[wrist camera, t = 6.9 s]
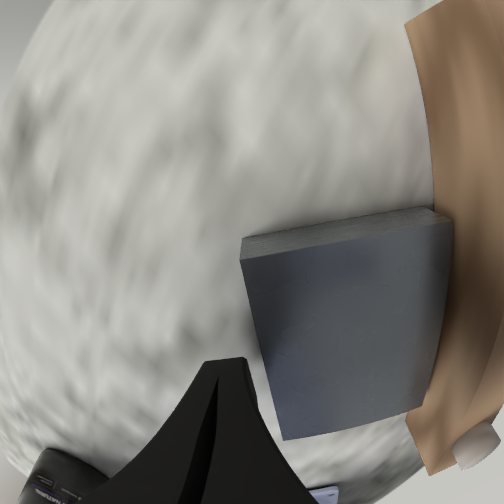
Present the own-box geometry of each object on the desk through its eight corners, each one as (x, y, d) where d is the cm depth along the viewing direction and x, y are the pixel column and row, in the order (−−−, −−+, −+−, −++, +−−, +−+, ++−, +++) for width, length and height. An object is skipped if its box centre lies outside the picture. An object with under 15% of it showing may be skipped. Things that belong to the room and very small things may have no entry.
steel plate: (402, 369, 12) (421, 406, 10) (279, 397, 12) (283, 440, 10) (412, 201, 9) (452, 220, 7) (243, 230, 10) (239, 260, 7)
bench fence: (442, 406, 12) (478, 472, 8) (405, 421, 13) (436, 494, 8) (457, 33, 6) (558, 4, 1) (404, 24, 6) (506, -32, 1)
